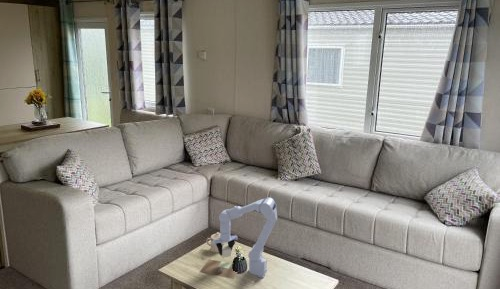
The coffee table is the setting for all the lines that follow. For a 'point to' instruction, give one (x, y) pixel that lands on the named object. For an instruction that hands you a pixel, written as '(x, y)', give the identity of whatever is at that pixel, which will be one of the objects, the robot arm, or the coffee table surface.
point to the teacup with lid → (213, 247)
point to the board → (214, 269)
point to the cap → (226, 251)
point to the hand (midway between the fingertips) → (225, 253)
